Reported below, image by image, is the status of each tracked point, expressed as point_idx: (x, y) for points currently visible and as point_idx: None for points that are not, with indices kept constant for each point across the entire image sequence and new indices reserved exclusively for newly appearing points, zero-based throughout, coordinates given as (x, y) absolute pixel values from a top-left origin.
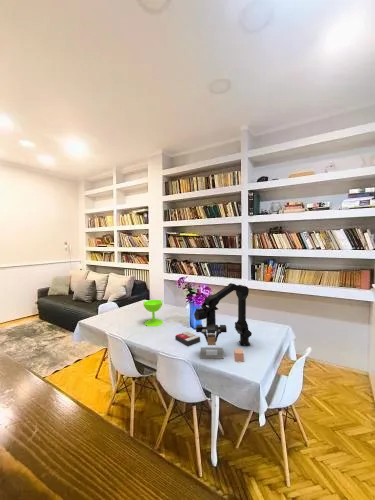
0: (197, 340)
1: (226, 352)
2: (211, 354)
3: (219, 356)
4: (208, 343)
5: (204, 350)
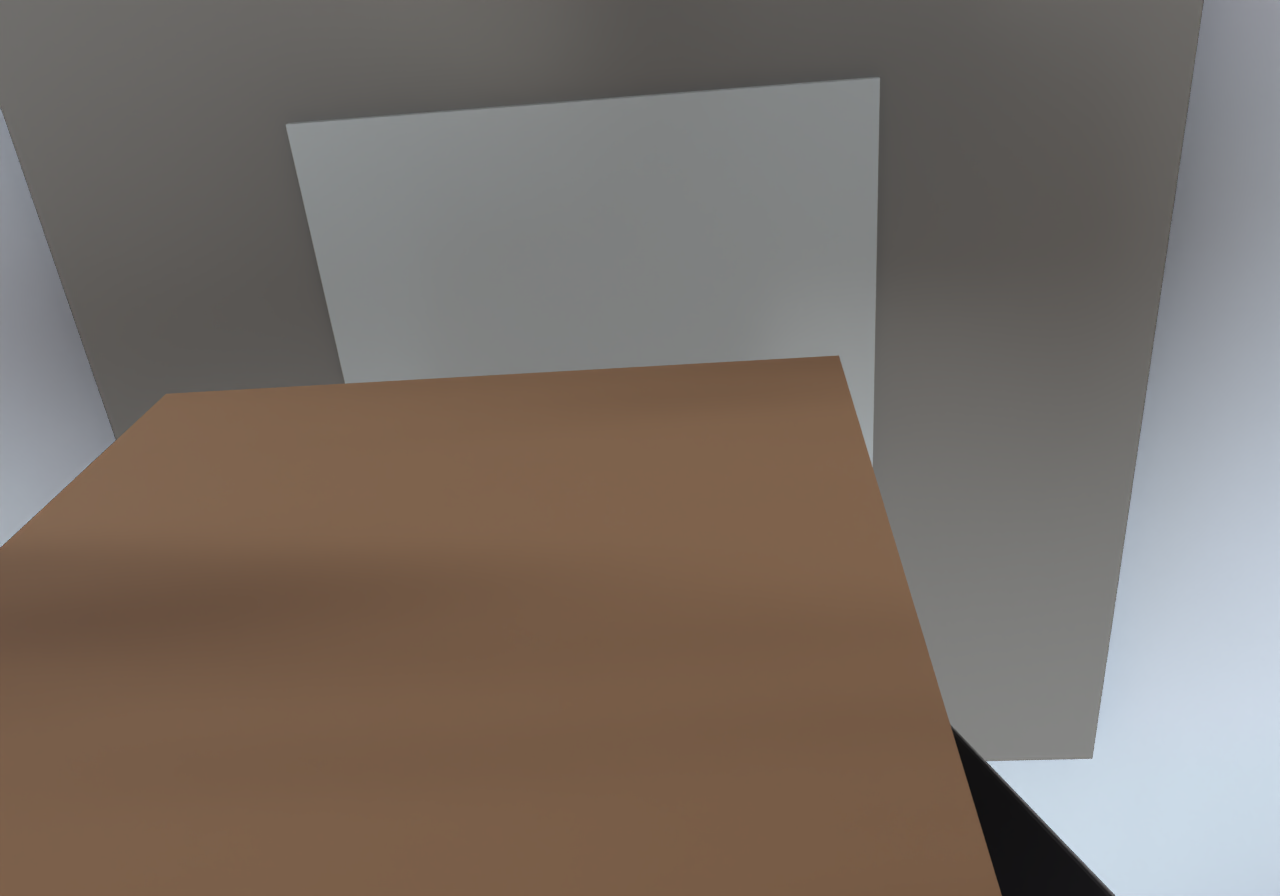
0: None
1: (2, 474)
2: (593, 171)
3: (162, 11)
4: (760, 432)
5: (947, 527)
